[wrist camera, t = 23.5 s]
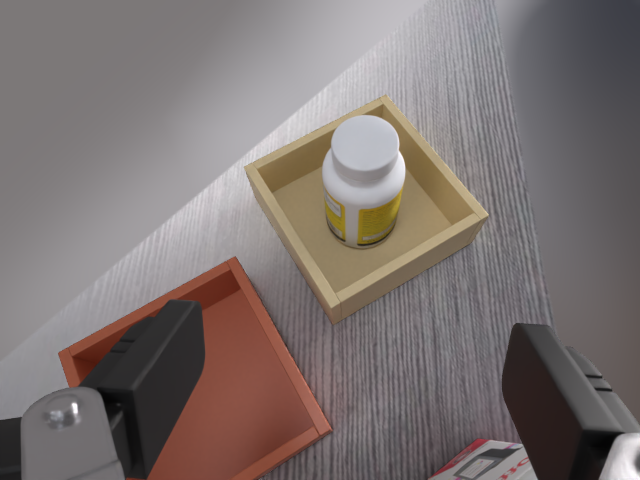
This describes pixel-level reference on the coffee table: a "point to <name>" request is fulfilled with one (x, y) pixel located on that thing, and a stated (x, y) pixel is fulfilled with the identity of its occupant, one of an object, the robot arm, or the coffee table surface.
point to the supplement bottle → (363, 181)
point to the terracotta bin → (224, 385)
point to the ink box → (488, 463)
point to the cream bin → (393, 253)
